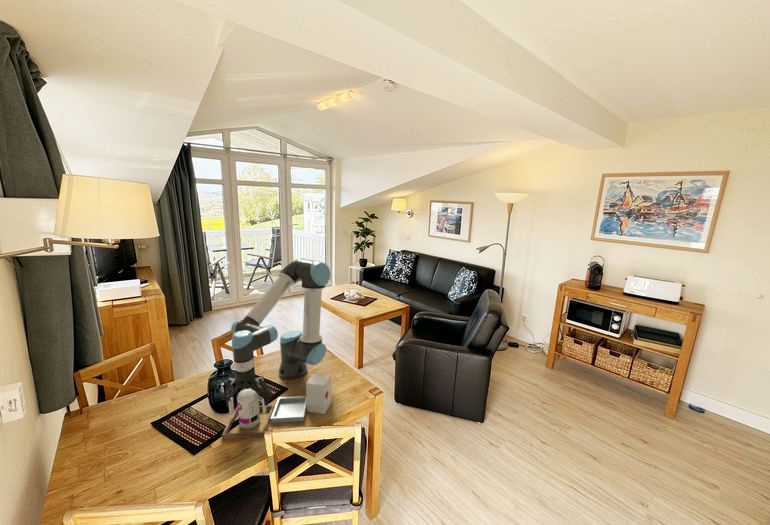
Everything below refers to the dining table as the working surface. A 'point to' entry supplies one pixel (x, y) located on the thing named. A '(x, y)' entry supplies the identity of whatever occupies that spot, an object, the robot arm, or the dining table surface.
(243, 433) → the wooden frame
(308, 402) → the supplement box
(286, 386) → the dining table surface
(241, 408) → the supplement can
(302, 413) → the tray
